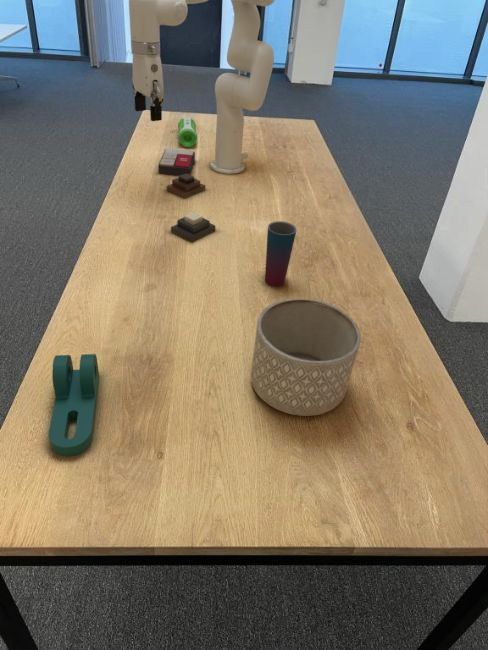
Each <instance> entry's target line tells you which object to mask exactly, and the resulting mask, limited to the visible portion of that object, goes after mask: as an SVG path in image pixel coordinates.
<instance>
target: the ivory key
mask: <svg viewBox="0 0 488 650" xmlns="http://www.w3.org/2000/svg"><path fill="white" fill-rule="evenodd" d="M184 217H185V221H186V222H188V223H190V224H192V225H196V224H198V223H200V222H202V218H204V217H203V215H200V214H198V213H196V212H194V211H192V212H191V213H188V214H185V215H184Z"/></svg>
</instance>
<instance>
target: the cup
mask: <svg viewBox="0 0 488 650" xmlns="http://www.w3.org/2000/svg"><path fill="white" fill-rule="evenodd" d="M296 234H297V227H296V226H295V225H294V224H292V223H291V222H288V221H281V220H277V221H272V222H270V223H269V224H268V225H267V236H266V255H265V258H266V259H265V273H264V282H265V283H266V284H267V285H268V286H271V287H282V286H283V285H285V282H286V278H287V273H288V268H289V265H290V260H291V256H292V252H293V248H294V243H295V239H296Z"/></svg>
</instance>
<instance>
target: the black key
mask: <svg viewBox="0 0 488 650" xmlns="http://www.w3.org/2000/svg"><path fill="white" fill-rule="evenodd" d="M178 178H179V181H181V182H183V183H185V184H188V183H190V182H193V181H194V178H195V176H193V175H191V174H190V175H189V174H183V175H181V176H178Z"/></svg>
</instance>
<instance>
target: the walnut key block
mask: <svg viewBox="0 0 488 650" xmlns="http://www.w3.org/2000/svg"><path fill="white" fill-rule="evenodd" d="M204 191H206V184H204V183H202V182H201V180H199V179H197V178H195V177H194V181H193V182H190V183H188V184H185V183H183V182H181V181H179V177H177V178H174V179H172V180H171V184H168V185H166V192H169V193H171V194H173V195H175V196H177V197H180V198H182V199H188V198H189V197H192V196H194V195H197V194H199V193H202V192H204Z"/></svg>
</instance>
